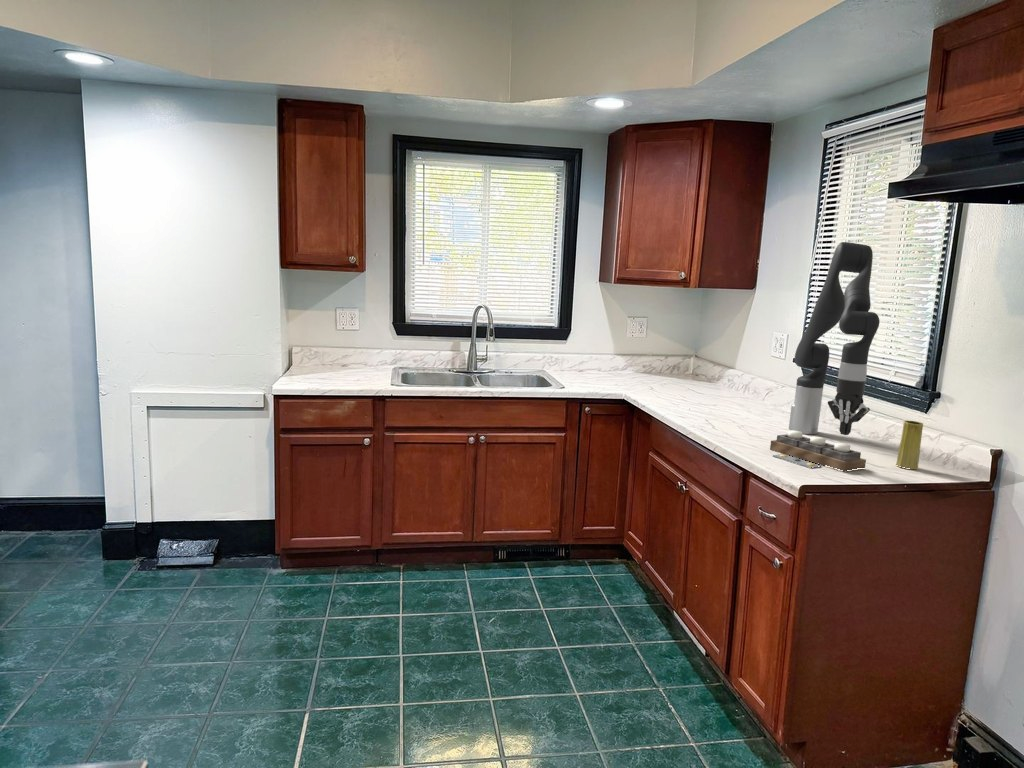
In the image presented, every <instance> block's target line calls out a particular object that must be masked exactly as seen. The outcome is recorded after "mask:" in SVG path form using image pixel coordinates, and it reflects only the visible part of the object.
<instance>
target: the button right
mask: <svg viewBox="0 0 1024 768" xmlns="http://www.w3.org/2000/svg"><path fill="white" fill-rule="evenodd" d="M833 445H834V451H838V452H841V453H849V452H850V450H851V445H850V444H847V443H845V442H844V443H843V442H835V443H833Z"/></svg>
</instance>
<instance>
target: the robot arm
mask: <svg viewBox="0 0 1024 768" xmlns="http://www.w3.org/2000/svg"><path fill="white" fill-rule="evenodd" d="M873 255H874V254H873V248H872V247H871V246H870V245H866V244H863V243H856V242H848V241H843V242H840V243H838V245H837V246H836V247H835V250H834V252H833V255H832V258H831V261H830V265H829V267H828V272H827V274H826V278H825V281H824V284H823V285H822V289H821V291H820V293H819V296H818V298H817V300H816V302H815V305H814V308H813V311H812V313H811V316H810V320H809V322H808V324H807V327H806V329H805V330H804V333H803V335H802V337H801V339H800V341H799V343H798V344H797V347H796V351H795V354H794V363H795V365H796V366H797V367H799V368H807V369H813V370H812V371H811V372H809V373H808V374H805V375H802V376H799V377H797V379H796V387H795V392H794V393H795V394H794V402H793V404H791V406H790V413H789V421H788V422H789V423H788V430H795V431H800V432H802V433H803V434H804V435H817V434H818V431H819V423H820V416H821V409H822V408H821V406H822V401H823V391H824V385H825V381H826V376H827V370H828V365H829V360H830V347H829V346H828V344H826V343H819V342H817V341H818V340H819V339H820V338H821V337H822V336H823V335H825V334H826V333H828V332H829V331H831V330H832V329H833V328H835V327H836V325H837V324H838V327H839V331H840V332H842V334H845V335H852V336H853V335H854V336H862V338H861V339H860V340H858V341H854V342H846V343H844V344H843V346H842V351H841V359H840V365H839V368H838V377H837V382H836V388H835V389H836V395H835V396H834V399H832V400H828V401H827V405H828V407H829V409H830V411H831V414H832V415H833V417H834V419H837V420H838V421H839V422H840V423H839V429H838V431H839V432H840V433H839V434H840V435H844V436H848V435H850V434H851V432H852V426H853V423H858V422H859V421H860V420H861V419H863V417H865V416H866V414H868V413H869V412H870V410H871V409H870V407H867V406H866V405H865V404H864V398H863V397H864V394H865V388H866V382H867V373H868V368H867V367H868V358H869V353H870V352H869V351H870V349H871V345H872V342H873V340H874V337H875V335H876V334H877V332H878V329H879V327H880V321H881V320H880V317H879V315H878V314H877V313H876V312H873V311H870V310H871V307H872V306H871V305H872V304H871V295H870V294H871V293H870V285H871V278H872V277H871V275H872V268H873V257H874V256H873ZM841 272H848V273H854V274H858V275H857V276H855V278H854V279H852V280H851V281H850V282H849V283H848V284H847V286H846V288H845V289H844V291H843V289H842V285H841V282H840V273H841ZM803 434H802V435H803Z"/></svg>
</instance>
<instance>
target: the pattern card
mask: <svg viewBox="0 0 1024 768" xmlns="http://www.w3.org/2000/svg"><path fill="white" fill-rule="evenodd" d="M772 457H773V458H777V459H779V460H782V459H783V460H782V461H785V460H787V461H786V462H789V461H790V463H792V462H793V463H792V464H795V463H797V464H796V465H798V464H800V465H799V466H801V465H803V466H802V467H804V466H807V467H806V468H808V467H818V466H822V465H818V464H815V463H812V462H809V461H805V460H802V459H799V458H796V457H792V456H789V455H786V454H783V453H780V454H779V453H778V454H772ZM818 468H819V467H818Z"/></svg>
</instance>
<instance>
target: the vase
mask: <svg viewBox="0 0 1024 768" xmlns="http://www.w3.org/2000/svg"><path fill="white" fill-rule="evenodd" d="M923 429H924V423H923V422H921V421H916V420H915V421H914V420H904V421H903V426H902V432H901V439H900V443H899V447H898V452H897V459H896V463H895V466H896V465H898V466H901V467H905V468H910V469H917V468H918V469H919V460H920V452H921V446H922V445H921V444H922V437H923V436H922V435H923ZM918 469H917V470H918Z"/></svg>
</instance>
